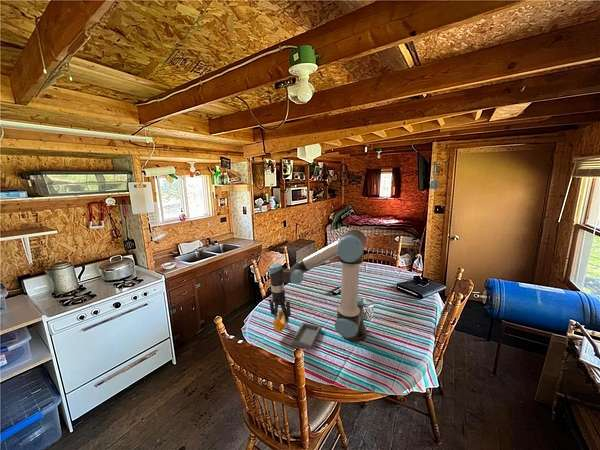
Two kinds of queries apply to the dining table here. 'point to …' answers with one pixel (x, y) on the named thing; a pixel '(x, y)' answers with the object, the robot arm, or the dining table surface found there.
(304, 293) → the dining table surface
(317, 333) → the tray
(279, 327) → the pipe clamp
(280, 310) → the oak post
